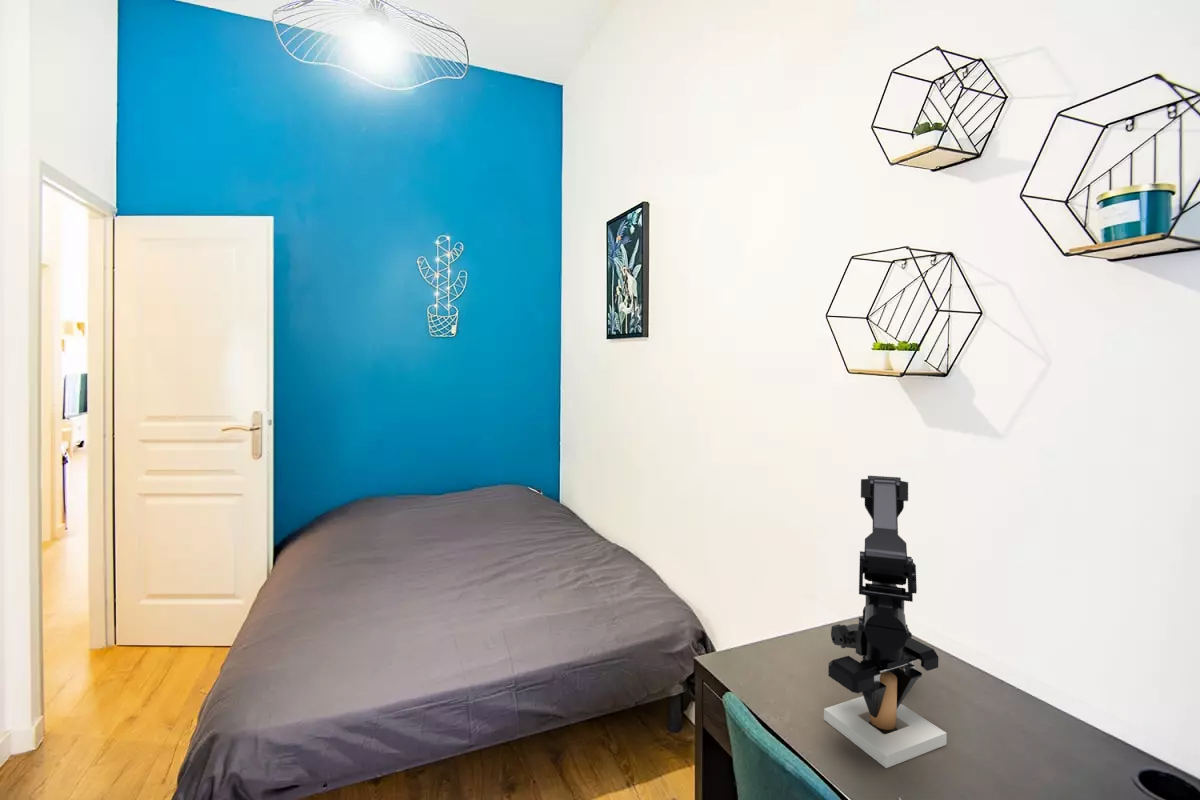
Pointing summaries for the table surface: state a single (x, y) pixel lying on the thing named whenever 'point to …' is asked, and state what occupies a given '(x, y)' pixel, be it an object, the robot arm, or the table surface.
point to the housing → (890, 747)
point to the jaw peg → (887, 703)
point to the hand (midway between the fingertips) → (883, 712)
